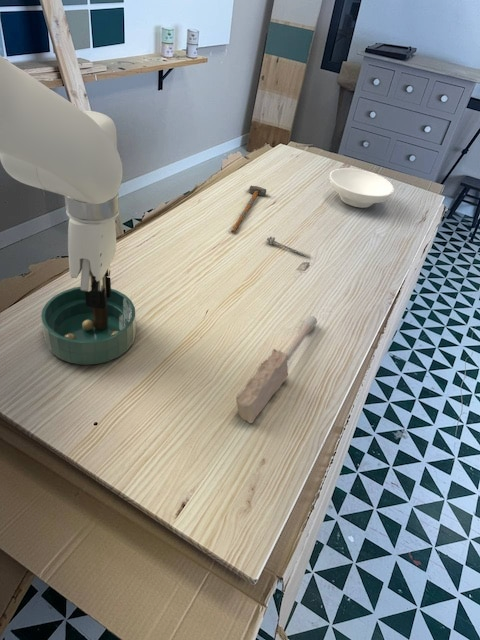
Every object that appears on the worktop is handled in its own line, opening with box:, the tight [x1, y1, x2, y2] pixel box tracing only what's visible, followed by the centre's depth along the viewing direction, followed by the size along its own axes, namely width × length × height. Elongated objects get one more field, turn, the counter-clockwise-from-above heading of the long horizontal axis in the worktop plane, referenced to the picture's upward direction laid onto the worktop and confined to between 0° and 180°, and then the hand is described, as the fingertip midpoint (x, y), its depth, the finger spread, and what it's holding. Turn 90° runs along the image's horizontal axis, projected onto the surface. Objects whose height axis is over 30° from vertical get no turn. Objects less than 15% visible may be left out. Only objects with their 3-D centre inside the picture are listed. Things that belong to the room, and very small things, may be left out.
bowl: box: [329, 167, 395, 209], centre depth 141 cm, size 20×20×7 cm
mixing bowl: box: [40, 286, 137, 365], centre depth 81 cm, size 15×15×6 cm
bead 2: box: [82, 320, 94, 331], centre depth 82 cm, size 2×2×2 cm
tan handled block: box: [235, 315, 318, 424], centre depth 82 cm, size 8×4×30 cm
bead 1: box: [64, 333, 76, 340], centre depth 79 cm, size 2×2×2 cm
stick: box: [91, 275, 108, 329], centre depth 80 cm, size 2×2×11 cm
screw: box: [266, 236, 309, 258], centre depth 115 cm, size 2×11×2 cm
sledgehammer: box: [231, 185, 267, 234], centre depth 128 cm, size 27×2×5 cm
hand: (98, 300), depth 80 cm, fingers closed on stick, 2 cm apart
